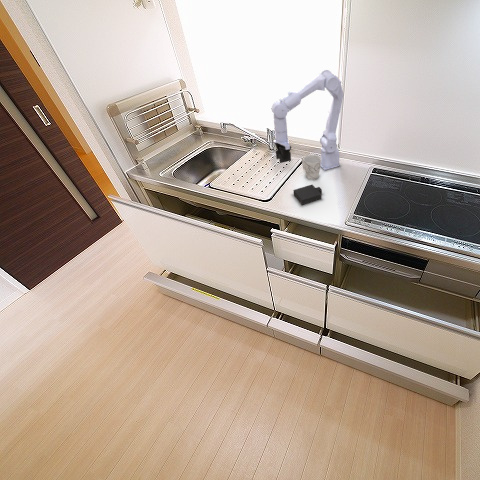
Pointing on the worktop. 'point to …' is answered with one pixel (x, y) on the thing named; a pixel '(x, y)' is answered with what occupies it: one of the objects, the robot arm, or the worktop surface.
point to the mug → (311, 166)
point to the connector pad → (280, 157)
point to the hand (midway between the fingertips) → (283, 157)
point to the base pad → (308, 194)
